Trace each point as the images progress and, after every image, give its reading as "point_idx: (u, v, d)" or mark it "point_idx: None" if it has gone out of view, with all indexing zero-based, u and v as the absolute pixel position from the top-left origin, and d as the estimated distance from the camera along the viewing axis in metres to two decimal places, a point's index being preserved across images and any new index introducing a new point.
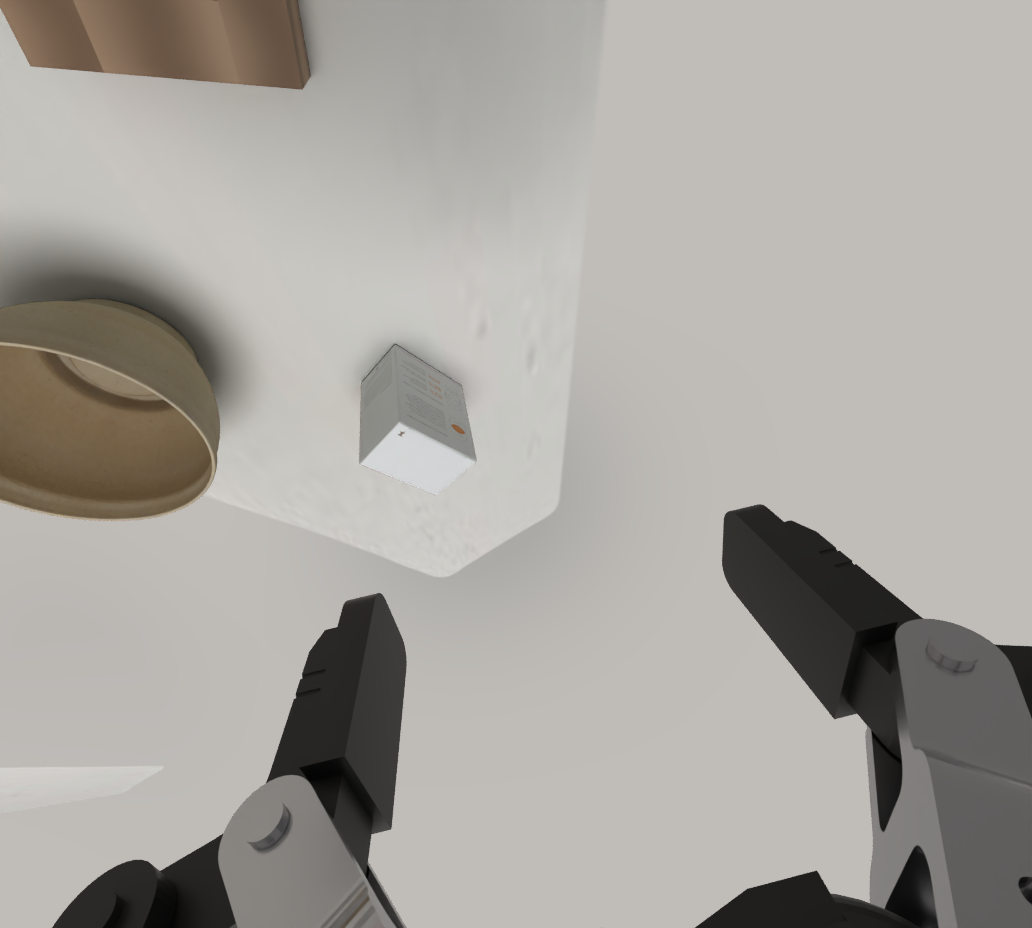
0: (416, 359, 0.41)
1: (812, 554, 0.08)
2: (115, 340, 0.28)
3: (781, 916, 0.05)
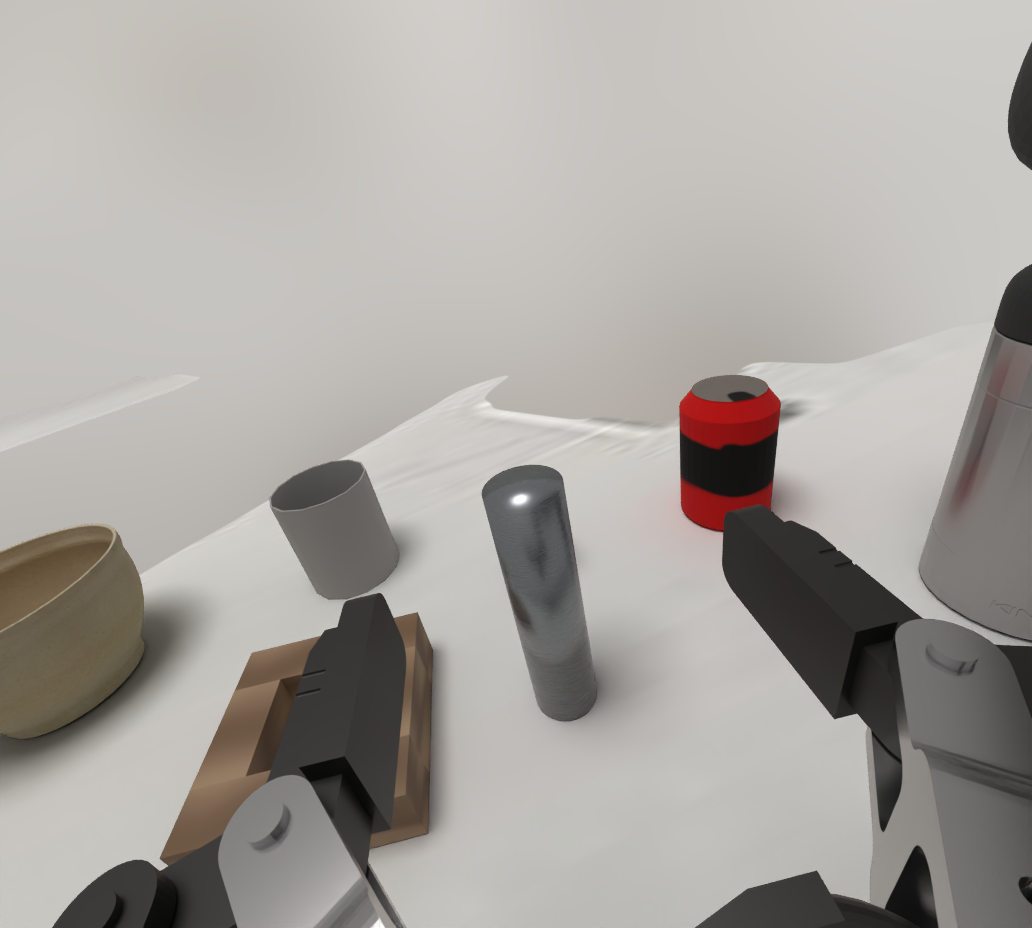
0: None
1: (812, 554, 0.08)
2: (48, 646, 0.31)
3: (781, 916, 0.05)
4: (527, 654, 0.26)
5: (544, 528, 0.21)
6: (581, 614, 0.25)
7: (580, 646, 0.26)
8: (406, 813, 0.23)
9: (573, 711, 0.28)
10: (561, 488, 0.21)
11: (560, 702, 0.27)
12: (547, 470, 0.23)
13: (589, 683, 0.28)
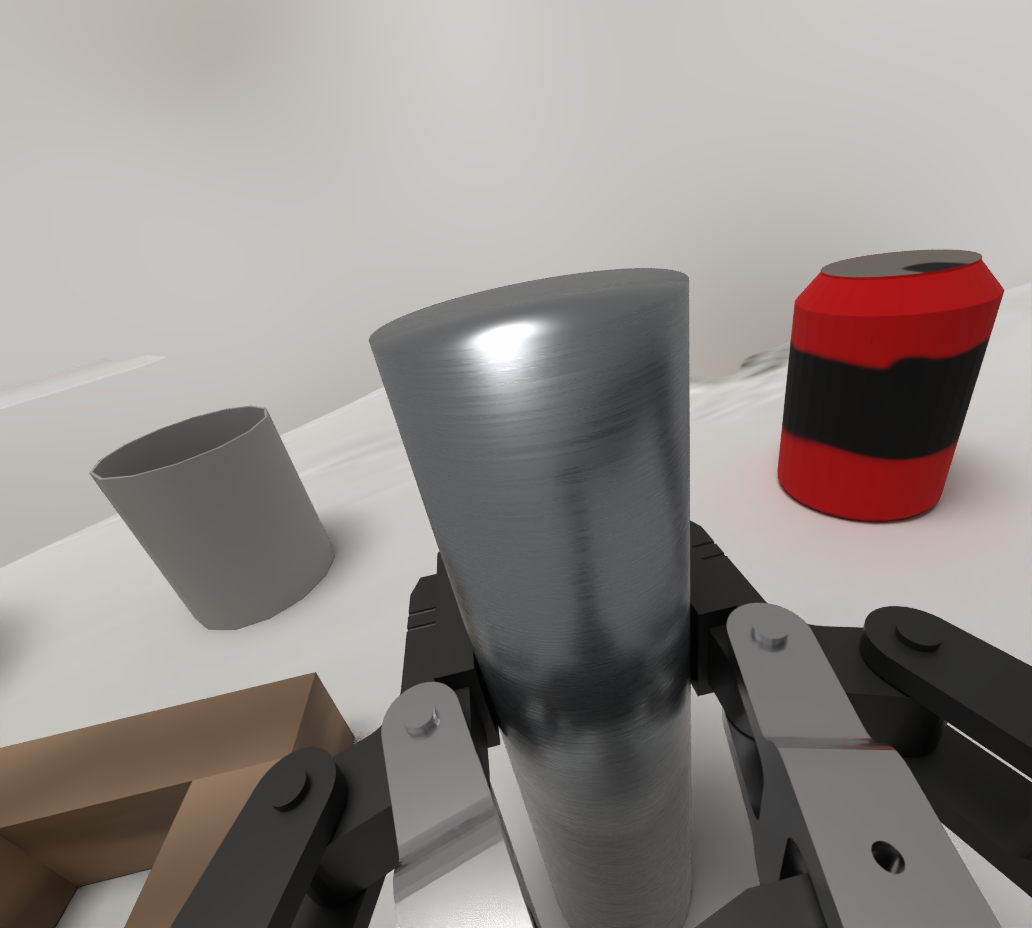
0: None
1: None
2: None
3: (781, 916, 0.05)
4: (535, 824, 0.10)
5: (621, 446, 0.05)
6: (690, 731, 0.09)
7: (681, 813, 0.09)
8: None
9: None
10: (688, 285, 0.05)
11: None
12: (610, 273, 0.07)
13: (687, 879, 0.11)
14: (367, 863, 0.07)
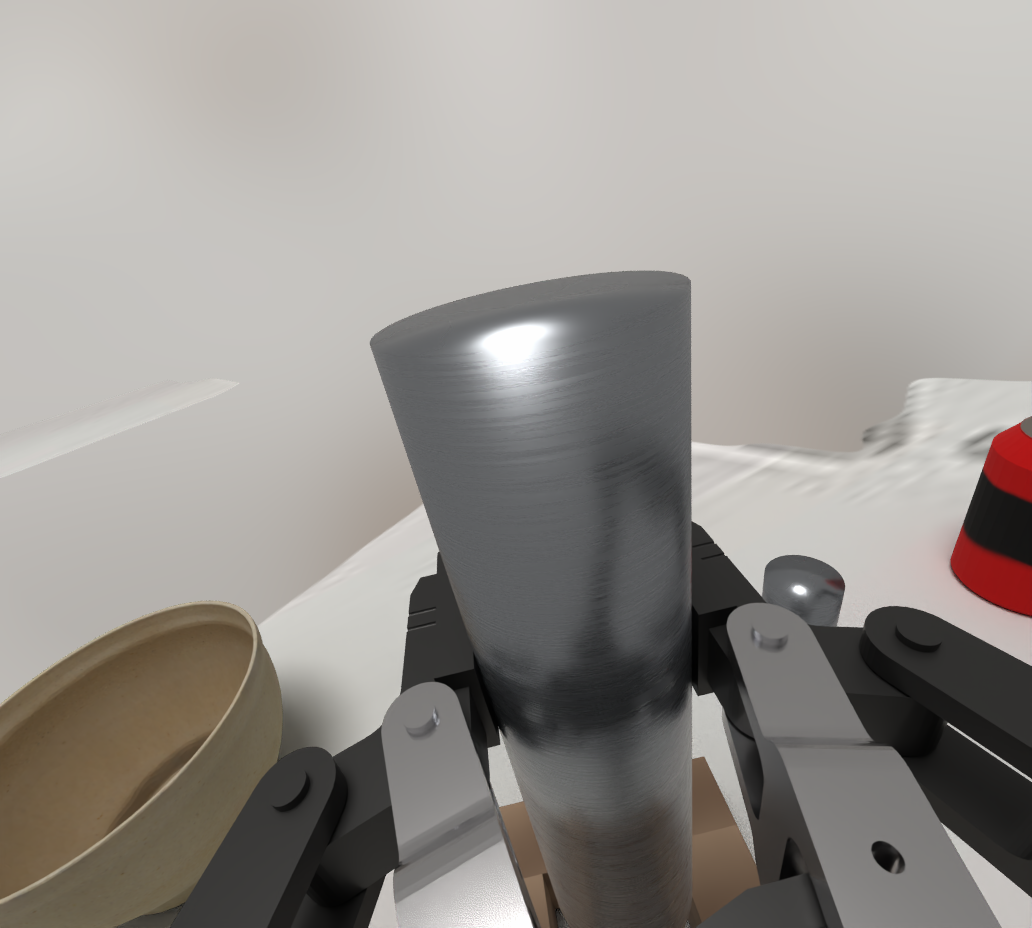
0: None
1: None
2: (197, 812, 0.21)
3: (781, 916, 0.05)
4: (536, 826, 0.10)
5: (623, 450, 0.05)
6: (691, 734, 0.09)
7: (682, 816, 0.09)
8: None
9: None
10: (689, 288, 0.05)
11: None
12: (611, 276, 0.07)
13: (687, 882, 0.11)
14: (367, 864, 0.07)
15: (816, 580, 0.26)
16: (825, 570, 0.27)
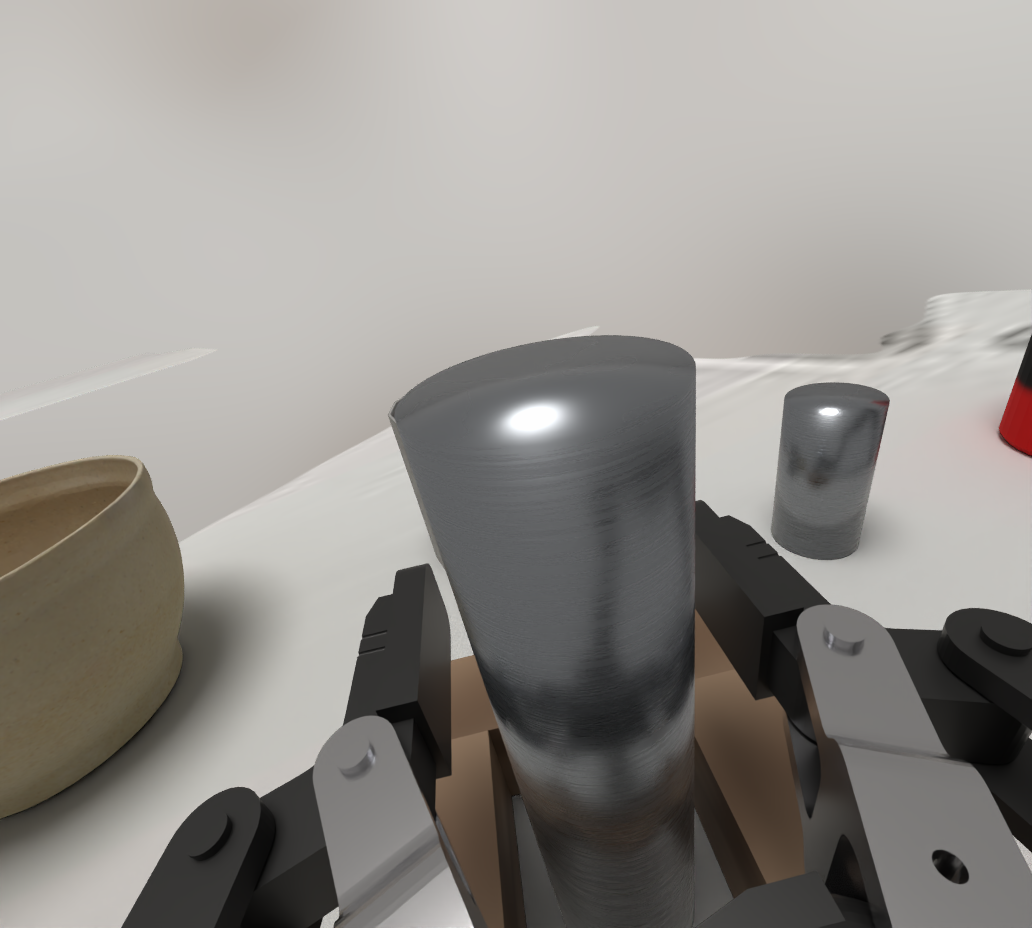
0: None
1: (738, 546, 0.09)
2: (16, 657, 0.16)
3: (781, 916, 0.05)
4: (544, 851, 0.10)
5: (633, 527, 0.05)
6: (693, 765, 0.09)
7: (684, 843, 0.10)
8: None
9: None
10: (694, 373, 0.05)
11: None
12: (619, 341, 0.07)
13: (690, 902, 0.12)
14: (295, 912, 0.06)
15: (851, 398, 0.21)
16: (861, 390, 0.21)
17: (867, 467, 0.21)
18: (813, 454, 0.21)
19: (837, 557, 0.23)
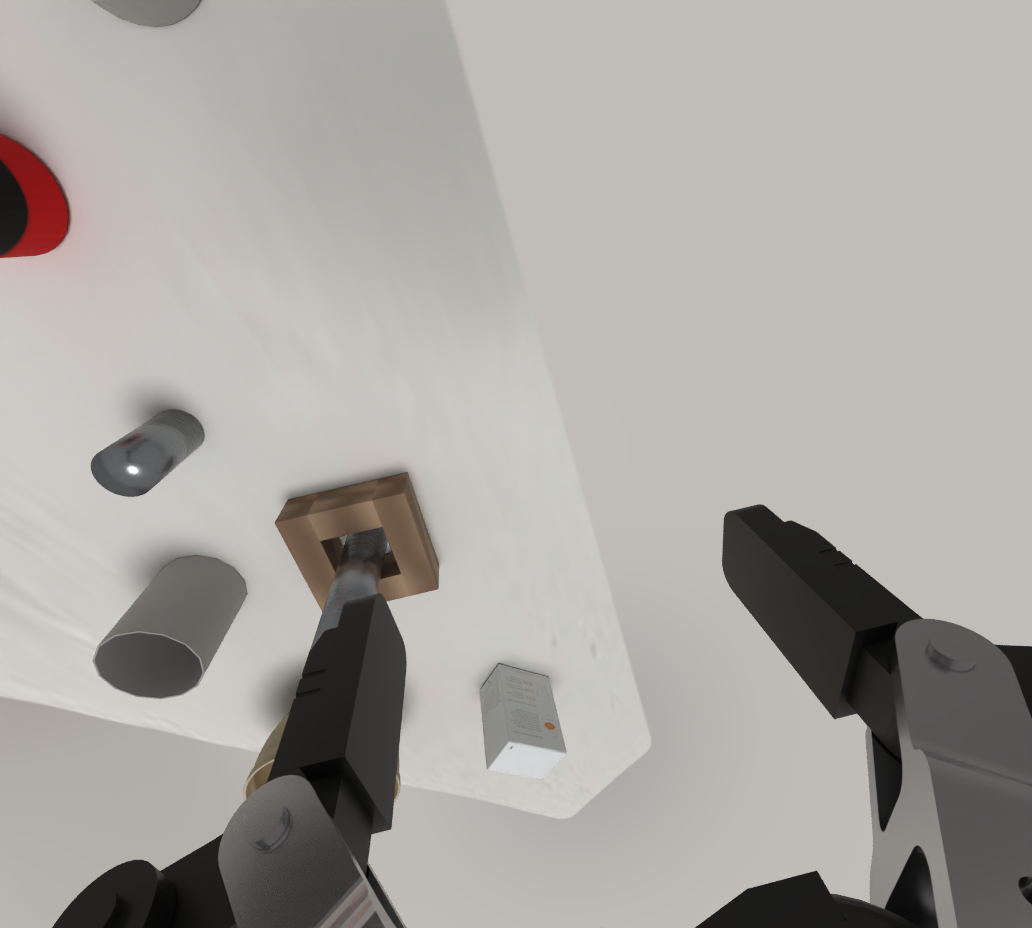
0: (513, 670, 0.60)
1: (812, 554, 0.08)
2: None
3: (781, 916, 0.05)
4: None
5: None
6: (361, 566, 0.40)
7: (371, 555, 0.42)
8: (406, 488, 0.43)
9: None
10: None
11: (386, 543, 0.47)
12: None
13: (374, 531, 0.45)
14: None
15: (124, 466, 0.33)
16: (108, 456, 0.33)
17: (166, 445, 0.36)
18: (165, 475, 0.36)
19: (202, 428, 0.41)
